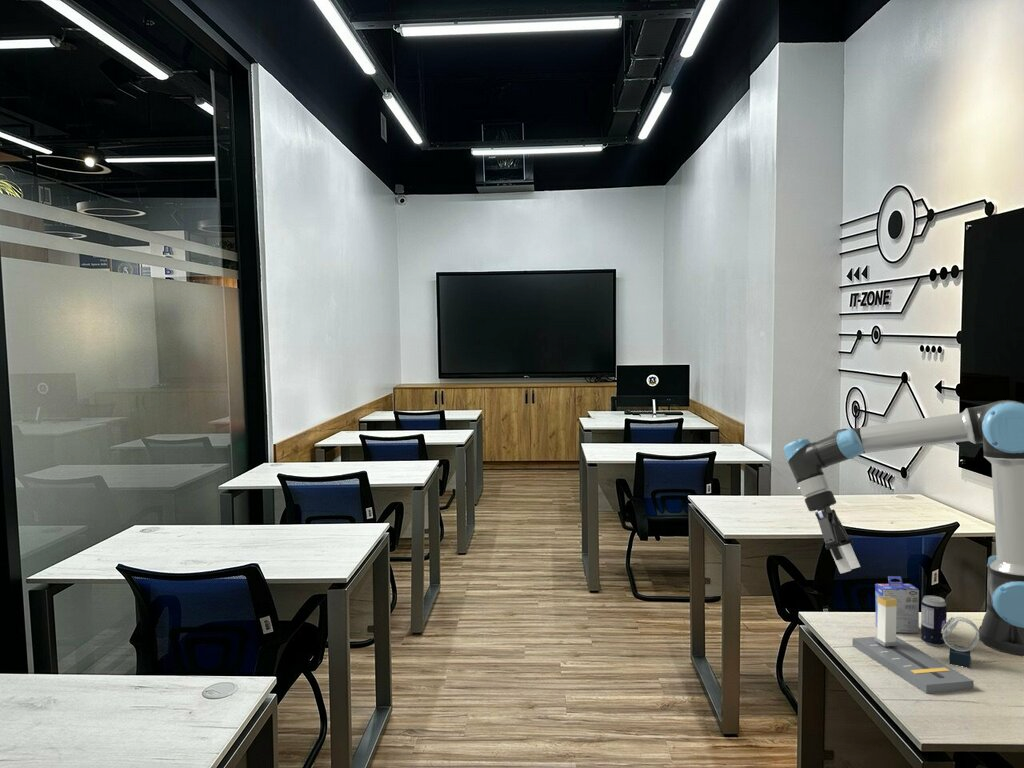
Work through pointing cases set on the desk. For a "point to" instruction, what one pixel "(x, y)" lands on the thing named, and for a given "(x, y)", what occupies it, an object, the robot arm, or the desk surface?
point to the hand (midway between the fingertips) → (850, 570)
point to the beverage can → (933, 620)
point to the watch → (957, 653)
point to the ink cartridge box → (901, 604)
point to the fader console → (914, 666)
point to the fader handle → (886, 621)
